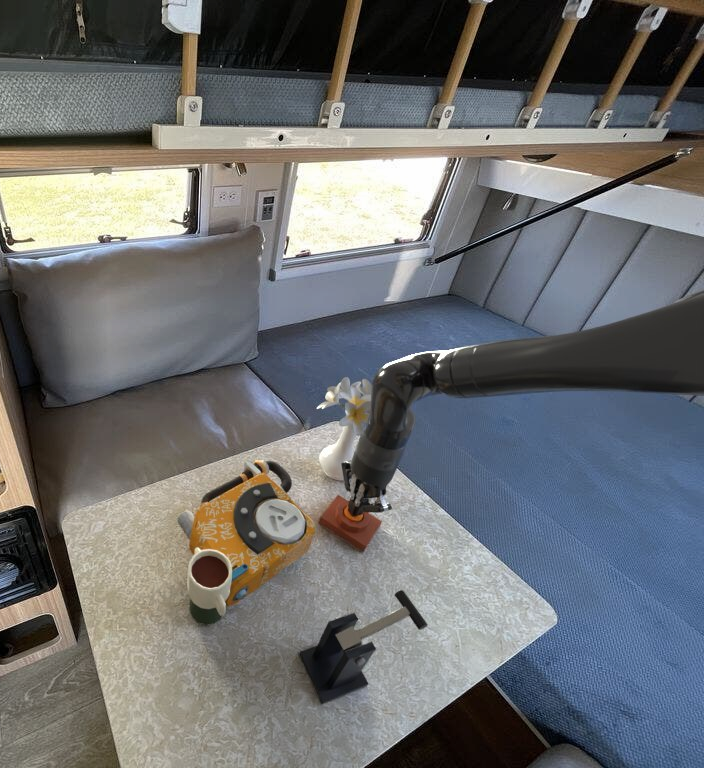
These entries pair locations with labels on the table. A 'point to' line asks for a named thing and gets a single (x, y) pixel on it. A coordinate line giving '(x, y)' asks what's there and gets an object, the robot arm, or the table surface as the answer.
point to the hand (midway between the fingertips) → (353, 512)
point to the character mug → (208, 585)
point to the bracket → (336, 662)
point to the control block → (349, 524)
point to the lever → (381, 624)
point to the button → (352, 518)
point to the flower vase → (346, 423)
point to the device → (251, 527)
